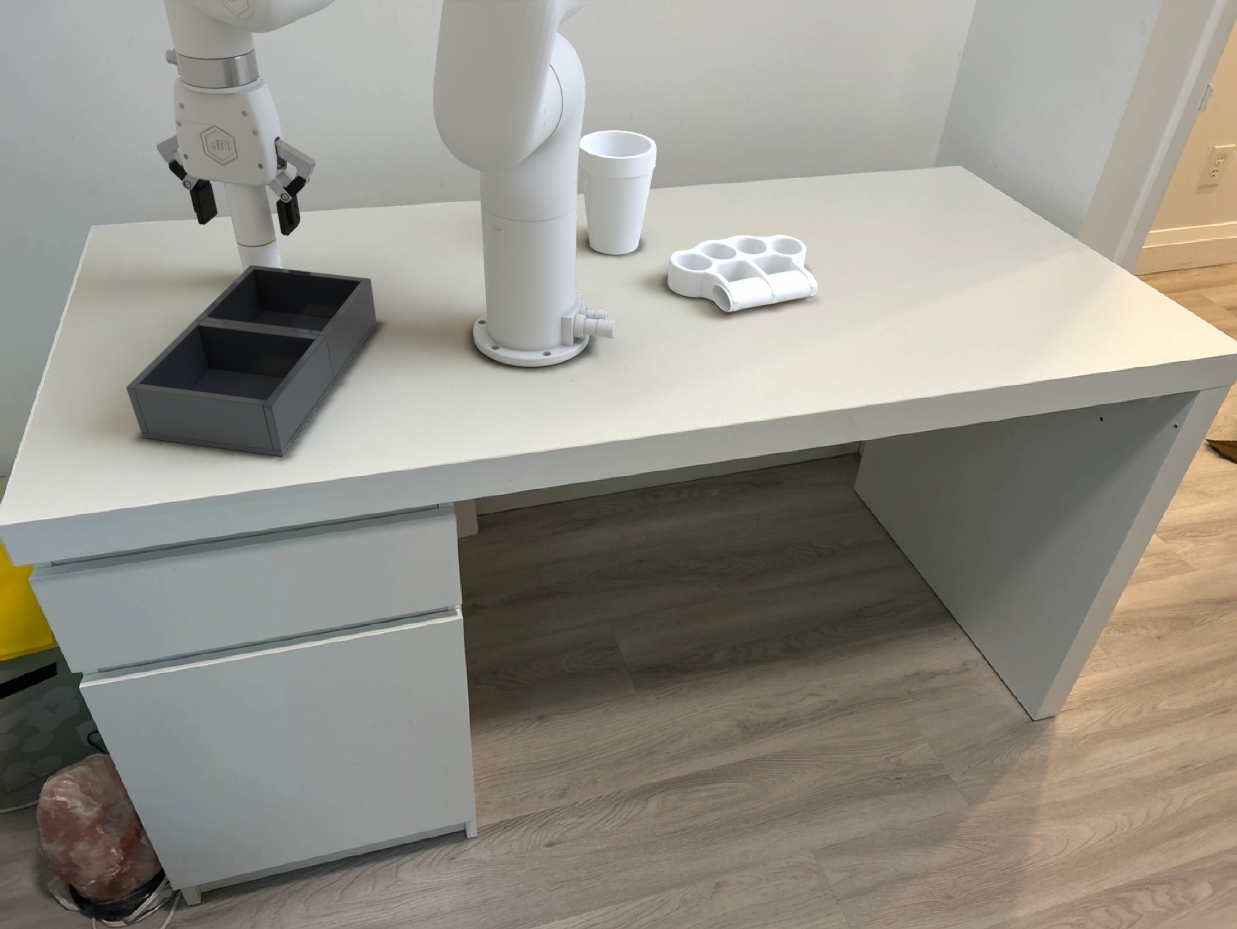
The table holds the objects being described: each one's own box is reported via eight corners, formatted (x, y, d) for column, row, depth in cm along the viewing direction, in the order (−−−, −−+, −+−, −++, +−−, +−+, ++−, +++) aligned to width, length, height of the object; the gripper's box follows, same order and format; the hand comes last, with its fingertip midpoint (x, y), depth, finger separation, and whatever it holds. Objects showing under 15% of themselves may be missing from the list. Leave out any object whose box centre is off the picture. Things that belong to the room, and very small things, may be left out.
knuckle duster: (704, 324, 108) (649, 268, 119) (838, 298, 114) (774, 247, 125) (707, 298, 106) (651, 243, 117) (843, 273, 112) (778, 222, 123)
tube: (273, 293, 110) (247, 166, 101) (239, 289, 111) (210, 161, 101) (291, 277, 113) (267, 152, 104) (257, 272, 114) (230, 147, 105)
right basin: (377, 324, 106) (371, 278, 102) (334, 384, 96) (326, 335, 93) (260, 310, 107) (250, 264, 104) (207, 367, 98) (194, 319, 94)
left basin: (334, 384, 96) (326, 335, 93) (282, 456, 87) (271, 406, 84) (207, 367, 98) (194, 319, 94) (142, 437, 88) (125, 387, 85)
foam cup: (663, 240, 125) (670, 142, 117) (625, 267, 119) (630, 164, 111) (602, 221, 129) (605, 124, 121) (563, 246, 123) (563, 146, 114)
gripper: (117, 68, 95) (159, 229, 106) (284, 88, 93) (309, 249, 104) (157, 47, 101) (193, 202, 111) (315, 65, 99) (336, 220, 110)
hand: (249, 225), depth 108 cm, fingers open, 9 cm apart
